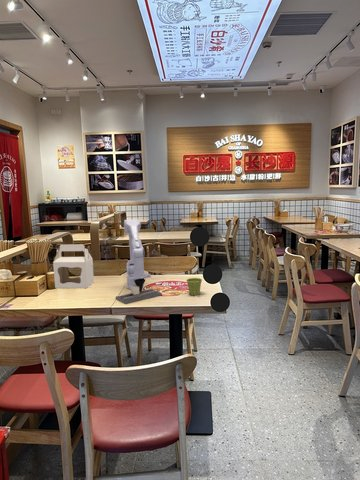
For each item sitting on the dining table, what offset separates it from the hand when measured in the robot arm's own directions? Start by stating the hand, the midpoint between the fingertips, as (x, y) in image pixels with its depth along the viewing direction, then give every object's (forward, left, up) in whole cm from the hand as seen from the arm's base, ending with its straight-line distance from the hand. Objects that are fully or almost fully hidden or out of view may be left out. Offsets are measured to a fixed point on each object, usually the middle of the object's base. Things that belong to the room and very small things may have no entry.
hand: (139, 291), depth 197 cm
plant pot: (+17, +27, -4) cm, 32 cm away
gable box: (-52, -20, -4) cm, 56 cm away
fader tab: (0, -3, -2) cm, 4 cm away
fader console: (0, -1, -3) cm, 3 cm away
